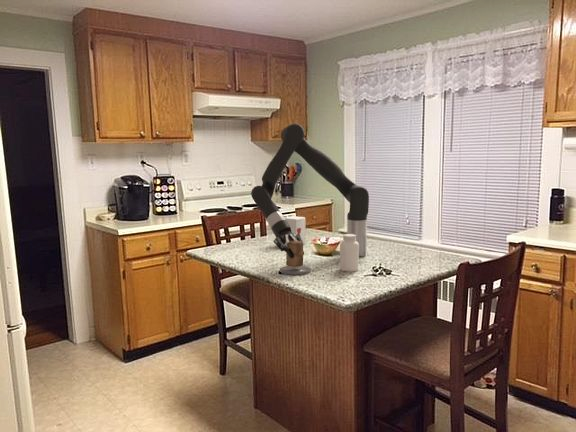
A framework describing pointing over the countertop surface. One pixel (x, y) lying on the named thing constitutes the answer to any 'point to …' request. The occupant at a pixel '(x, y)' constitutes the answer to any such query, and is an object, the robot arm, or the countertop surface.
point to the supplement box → (297, 226)
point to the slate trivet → (295, 270)
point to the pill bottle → (349, 253)
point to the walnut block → (295, 254)
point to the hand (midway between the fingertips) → (297, 256)
